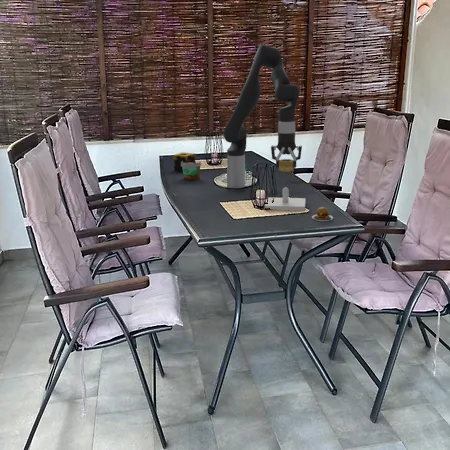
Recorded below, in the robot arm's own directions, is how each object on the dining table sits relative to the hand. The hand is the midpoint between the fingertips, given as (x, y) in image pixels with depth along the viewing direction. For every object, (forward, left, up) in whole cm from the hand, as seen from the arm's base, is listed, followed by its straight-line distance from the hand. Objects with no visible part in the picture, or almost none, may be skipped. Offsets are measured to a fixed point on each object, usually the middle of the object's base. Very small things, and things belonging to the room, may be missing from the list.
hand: (286, 168), depth 228 cm
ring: (0, 0, -1) cm, 1 cm away
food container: (-57, +49, -18) cm, 77 cm away
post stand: (0, 0, -18) cm, 18 cm away
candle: (-66, +75, -18) cm, 102 cm away
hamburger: (+16, -17, -19) cm, 30 cm away
